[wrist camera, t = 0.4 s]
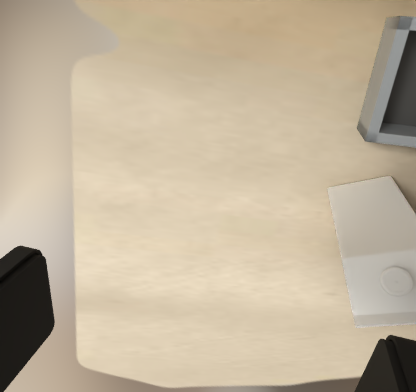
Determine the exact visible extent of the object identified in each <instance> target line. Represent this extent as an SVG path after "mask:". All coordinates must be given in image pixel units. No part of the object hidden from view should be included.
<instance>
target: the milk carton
mask: <svg viewBox="0 0 416 392" xmlns="http://www.w3.org/2000/svg"><path fill="white" fill-rule="evenodd" d="M327 190H328V195H329V200H330V205H331V210H332V215H333V220H334V225H335V230H336V234H337V239H338V244H339V249H340V254H341V259H342V264H343V269H344V274H345V279H346V284H347V288H348V293H349V298H350V303H351V308H352V313H353V318H354V323H355V327H356V328H360V327H377V326H394V325H411V324H416V214H415V212H414V211H413V209H412V208H411V206H410V205H409V203H408V201H407V200H406V198H405V197H404V195H403V194H402V192H401V191H400V189H399V188H398V186H397V185H396V183H395V181H394V180H393V178H392V177H391V176H385V177H379V178H374V179H369V180H364V181H359V182H353V183H348V184H343V185H338V186H333V187H329V188H328V189H327Z"/></svg>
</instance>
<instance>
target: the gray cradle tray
mask: <svg viewBox="0 0 416 392" xmlns="http://www.w3.org/2000/svg"><path fill="white" fill-rule="evenodd" d="M357 129H358V131H359V132H360V134H361V136H362V137H363V139H364V140H365V141H366V142H375V143H383V144H391V145H399V146H407V147H415V148H416V17H407V16H397V17H389V18H386V22H385V26H384V29H383V33H382V37H381V41H380V44H379V48H378V52H377V56H376V59H375V63H374V67H373V70H372V74H371V78H370V82H369V85H368V89H367V93H366V97H365V100H364V104H363V108H362V112H361V115H360V119H359V123H358V126H357Z"/></svg>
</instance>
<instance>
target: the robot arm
mask: <svg viewBox="0 0 416 392" xmlns="http://www.w3.org/2000/svg"><path fill="white" fill-rule="evenodd" d="M53 327H54V314H53V307H52V300H51V293H50V285H49V278H48V271H47V264H46V259H45V257H44V256H42V253H41V251H40V250H37V249H32V248H29V247H24V246H18V247H16V248H14V249H13V250H11V251H10V252H9V253H8V254H6V255H5V256H4V257H3V258H1V259H0V392H4V390H5V389H6V388H7V387H8V386H9V384H10V383H11V382H12V381H13V379H14V378H15V377H16V376H17V375H18V373H19V372H20V371H21V370H22V368H23V367H24V366H25V365H26V363H27V362H28V361H29V360H30V358H31V357H32V356H33V355H34V354H35V352H36V351H37V350H38V349H39V347H40V346H41V345H42V344H43V342H44V341H45V340H46V339H47V338H48V336H49V335H50V334H51V332H52V330H53ZM355 392H416V341H414V340H410V339H406V338H402V337H397V336H393V335H389V336H388V337H387V338H386V340H384V339H380V340H379V341H378V343H377V345H376V347H375V350H374V352H373V354H372V356H371V358H370V360H369V362H368V364H367V366H366V369H365V371H364V373H363V375H362V377H361V379H360V381H359V384H358V386H357V388H356V390H355Z"/></svg>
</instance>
